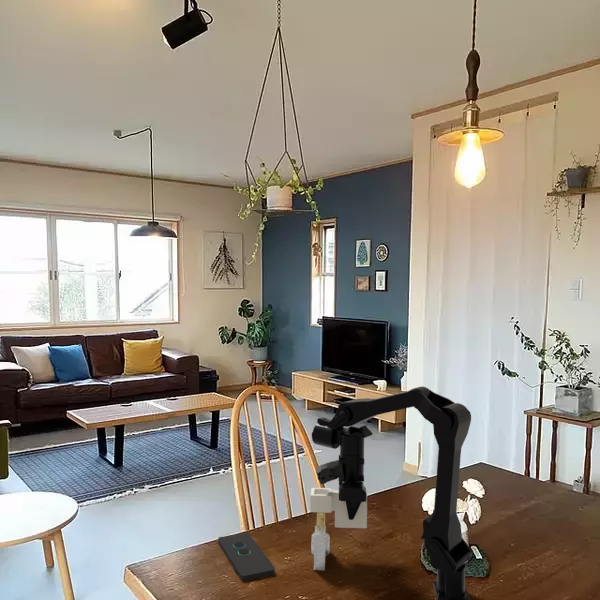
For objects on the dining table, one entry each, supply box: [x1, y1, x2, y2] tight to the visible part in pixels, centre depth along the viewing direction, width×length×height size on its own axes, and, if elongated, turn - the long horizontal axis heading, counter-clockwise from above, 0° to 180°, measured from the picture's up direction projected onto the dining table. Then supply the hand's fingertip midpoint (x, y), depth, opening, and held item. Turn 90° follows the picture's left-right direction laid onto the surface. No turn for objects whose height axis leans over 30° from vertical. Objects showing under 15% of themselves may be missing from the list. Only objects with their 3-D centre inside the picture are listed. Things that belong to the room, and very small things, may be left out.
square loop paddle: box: [309, 487, 368, 529], centre depth 133 cm, size 5×13×8 cm, turn 86°
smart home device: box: [217, 532, 276, 582], centre depth 130 cm, size 8×2×20 cm
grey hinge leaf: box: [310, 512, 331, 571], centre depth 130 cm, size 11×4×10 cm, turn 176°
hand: (350, 516), depth 132 cm, fingers closed on square loop paddle, 2 cm apart
